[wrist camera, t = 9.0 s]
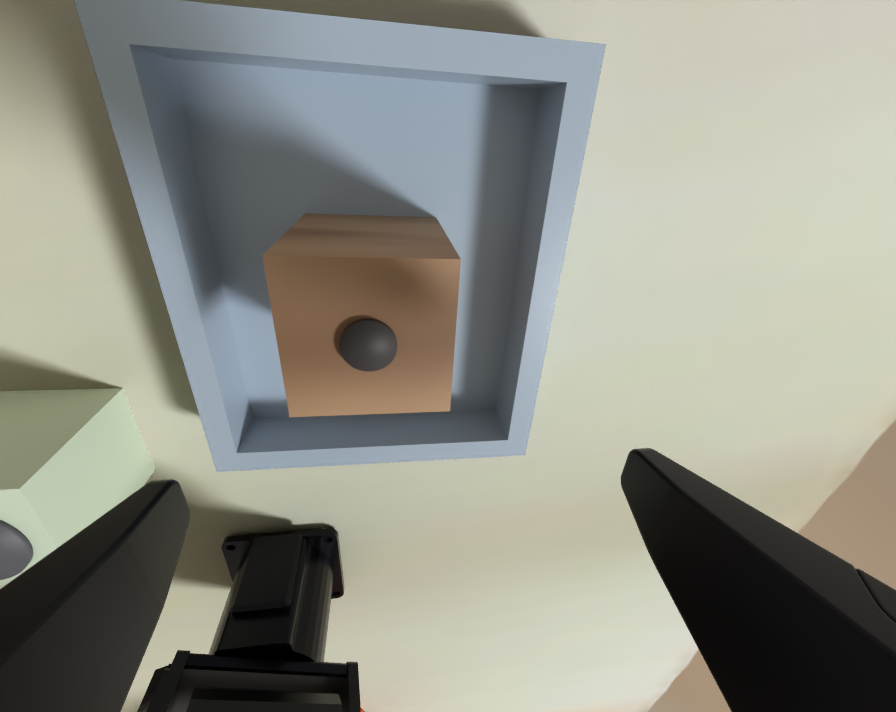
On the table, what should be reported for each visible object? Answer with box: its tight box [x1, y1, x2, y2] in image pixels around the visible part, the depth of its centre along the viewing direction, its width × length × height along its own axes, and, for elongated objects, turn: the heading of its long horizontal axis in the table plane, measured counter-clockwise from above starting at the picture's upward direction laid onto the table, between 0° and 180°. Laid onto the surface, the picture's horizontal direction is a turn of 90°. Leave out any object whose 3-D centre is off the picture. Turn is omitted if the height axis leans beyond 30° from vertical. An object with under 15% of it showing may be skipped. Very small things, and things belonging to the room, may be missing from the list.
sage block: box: [0, 388, 155, 588], centre depth 16 cm, size 5×5×6 cm
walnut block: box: [262, 213, 461, 417], centre depth 14 cm, size 5×5×6 cm
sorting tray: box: [74, 0, 606, 472], centre depth 16 cm, size 16×14×3 cm
